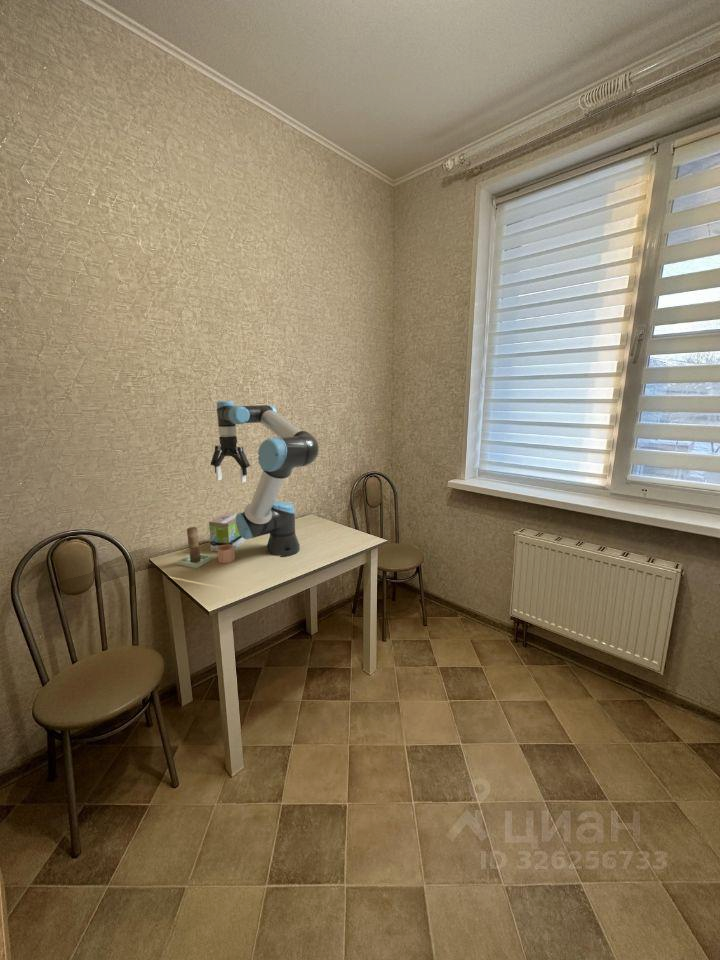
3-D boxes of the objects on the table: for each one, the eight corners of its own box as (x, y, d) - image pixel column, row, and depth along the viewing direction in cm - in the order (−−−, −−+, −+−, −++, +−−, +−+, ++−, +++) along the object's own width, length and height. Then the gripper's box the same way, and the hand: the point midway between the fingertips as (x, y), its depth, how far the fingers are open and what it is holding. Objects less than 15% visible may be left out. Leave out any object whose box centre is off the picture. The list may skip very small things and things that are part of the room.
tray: (212, 561, 166) (211, 555, 166) (197, 569, 158) (196, 564, 158) (194, 558, 170) (193, 552, 169) (178, 566, 162) (177, 560, 161)
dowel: (202, 560, 165) (199, 527, 161) (196, 564, 161) (192, 530, 158) (195, 559, 166) (191, 526, 163) (188, 562, 163) (184, 529, 159)
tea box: (230, 553, 174) (227, 523, 171) (210, 552, 176) (207, 521, 173) (246, 541, 189) (244, 513, 185) (227, 540, 191) (225, 512, 187)
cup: (237, 559, 168) (236, 545, 167) (228, 565, 162) (226, 551, 161) (225, 557, 170) (224, 543, 169) (215, 563, 164) (214, 549, 163)
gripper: (256, 435, 172) (258, 481, 177) (211, 433, 181) (215, 477, 185) (245, 437, 165) (249, 484, 170) (199, 435, 174) (204, 480, 178)
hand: (231, 481), depth 178 cm, fingers open, 13 cm apart
